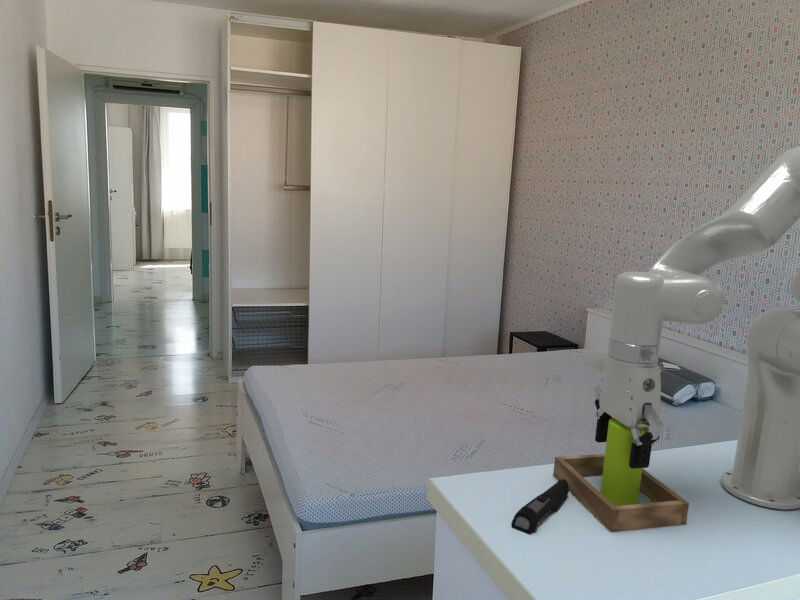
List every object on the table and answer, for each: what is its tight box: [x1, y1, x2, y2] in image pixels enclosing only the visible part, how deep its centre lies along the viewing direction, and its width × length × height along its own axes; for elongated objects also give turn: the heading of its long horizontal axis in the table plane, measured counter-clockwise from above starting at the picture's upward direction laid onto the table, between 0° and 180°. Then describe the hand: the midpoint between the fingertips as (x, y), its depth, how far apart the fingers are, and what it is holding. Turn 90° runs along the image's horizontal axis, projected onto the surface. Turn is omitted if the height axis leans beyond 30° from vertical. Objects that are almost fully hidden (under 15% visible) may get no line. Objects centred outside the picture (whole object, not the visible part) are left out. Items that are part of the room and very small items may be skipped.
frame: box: [552, 453, 690, 533], centre depth 104 cm, size 13×18×4 cm
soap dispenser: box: [599, 391, 645, 506], centre depth 101 cm, size 6×7×20 cm
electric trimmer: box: [511, 479, 570, 535], centre depth 99 cm, size 4×16×3 cm, turn 142°
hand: (620, 453), depth 102 cm, fingers open, 9 cm apart
